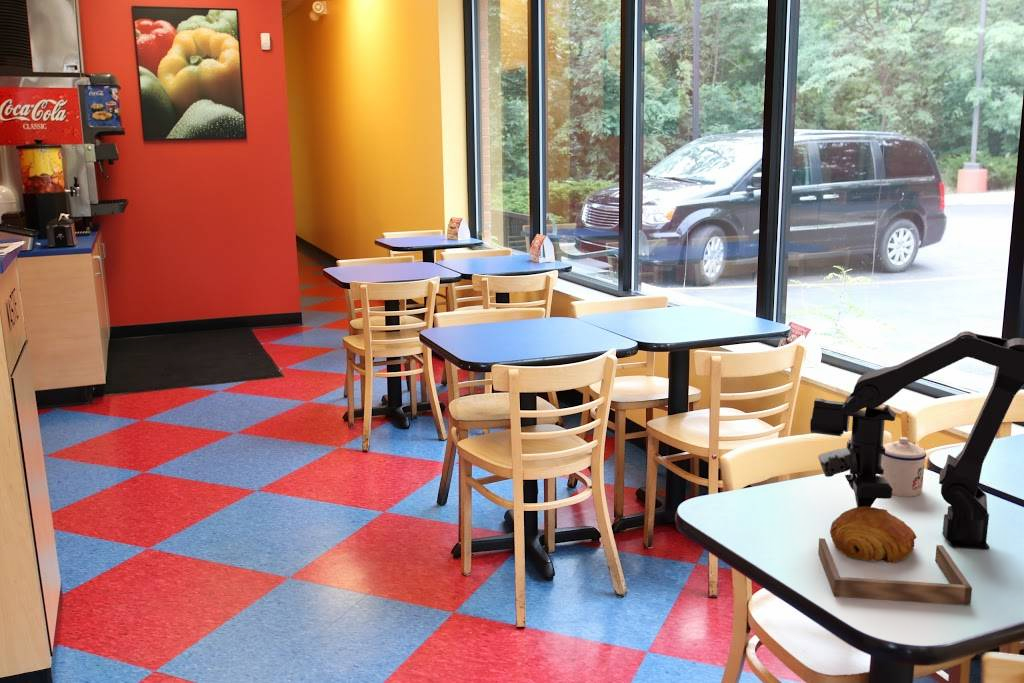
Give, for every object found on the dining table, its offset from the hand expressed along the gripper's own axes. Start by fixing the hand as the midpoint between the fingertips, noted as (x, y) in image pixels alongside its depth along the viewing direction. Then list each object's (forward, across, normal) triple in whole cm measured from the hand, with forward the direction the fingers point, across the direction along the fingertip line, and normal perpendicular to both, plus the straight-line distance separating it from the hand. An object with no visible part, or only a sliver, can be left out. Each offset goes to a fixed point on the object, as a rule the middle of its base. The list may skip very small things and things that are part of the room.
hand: (861, 515), depth 174 cm
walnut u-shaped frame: (+2, +22, 0) cm, 22 cm away
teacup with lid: (+2, -22, +12) cm, 25 cm away
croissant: (+2, +10, 0) cm, 10 cm away
